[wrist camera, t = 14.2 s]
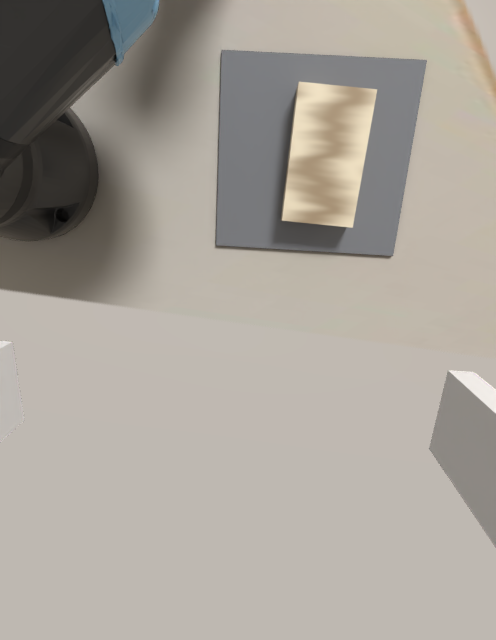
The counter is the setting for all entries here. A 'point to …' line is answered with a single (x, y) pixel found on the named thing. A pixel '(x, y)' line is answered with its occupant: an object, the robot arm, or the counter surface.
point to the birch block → (327, 153)
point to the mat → (274, 141)
